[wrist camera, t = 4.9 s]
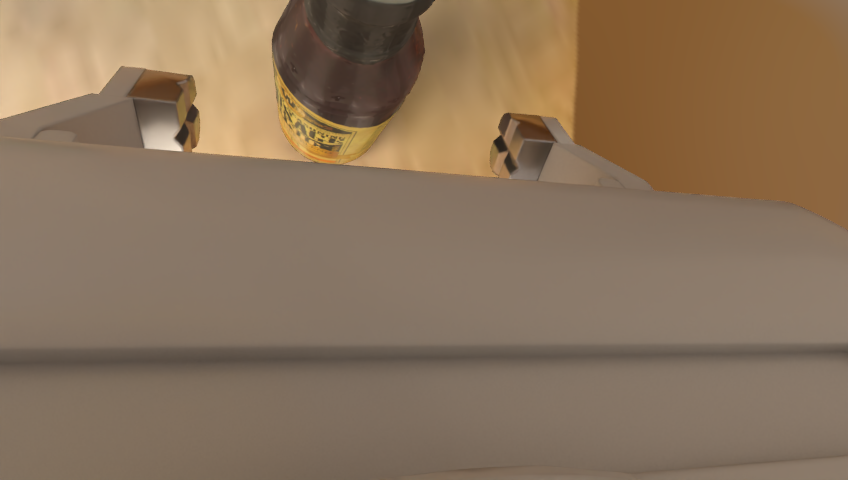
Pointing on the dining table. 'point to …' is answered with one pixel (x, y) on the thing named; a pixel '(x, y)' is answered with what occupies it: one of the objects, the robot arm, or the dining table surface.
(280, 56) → the sauce bottle
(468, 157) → the dining table surface
